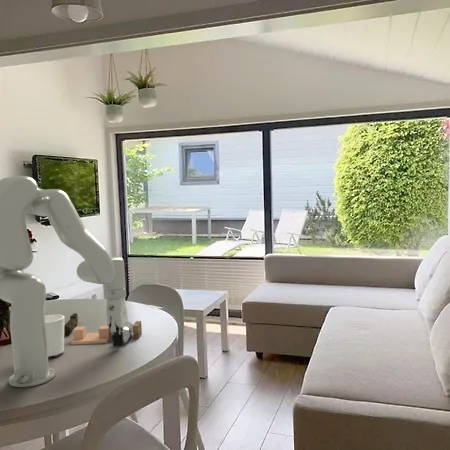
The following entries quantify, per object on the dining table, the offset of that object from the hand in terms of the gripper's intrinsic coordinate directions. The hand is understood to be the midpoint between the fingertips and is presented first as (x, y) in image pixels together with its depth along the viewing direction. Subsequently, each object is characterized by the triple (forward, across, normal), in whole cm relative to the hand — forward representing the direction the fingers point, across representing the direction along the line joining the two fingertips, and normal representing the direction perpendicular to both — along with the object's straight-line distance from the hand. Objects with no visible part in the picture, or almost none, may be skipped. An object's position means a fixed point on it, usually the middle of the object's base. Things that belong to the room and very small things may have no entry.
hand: (118, 344), depth 159 cm
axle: (+2, +10, 0) cm, 10 cm away
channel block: (+2, +13, 0) cm, 13 cm away
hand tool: (+2, +27, +26) cm, 38 cm away
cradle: (+2, +12, +13) cm, 17 cm away
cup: (+2, -3, +22) cm, 22 cm away
